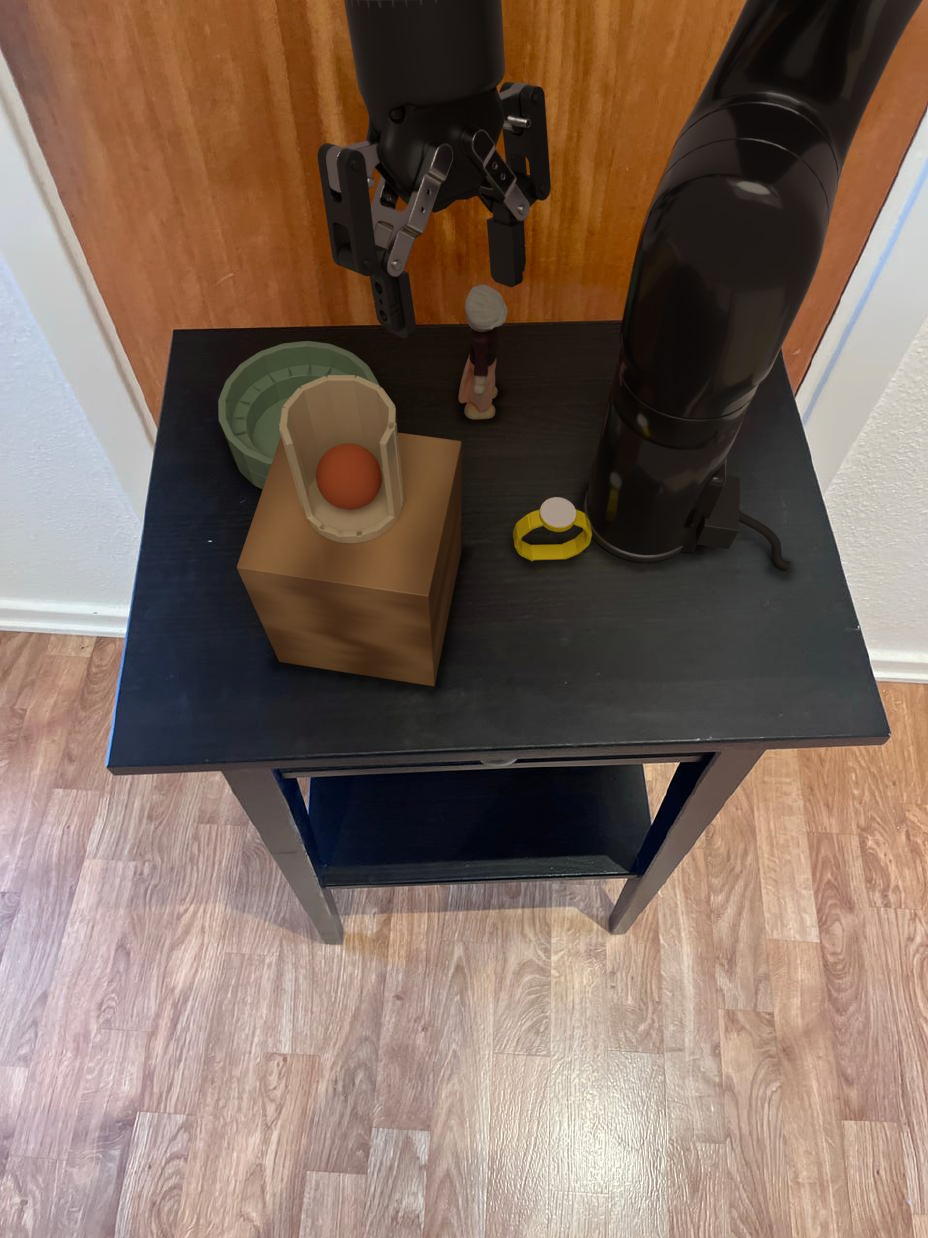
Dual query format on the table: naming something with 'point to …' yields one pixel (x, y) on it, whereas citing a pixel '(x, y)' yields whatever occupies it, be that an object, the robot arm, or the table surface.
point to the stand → (360, 573)
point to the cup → (336, 418)
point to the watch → (558, 519)
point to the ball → (348, 476)
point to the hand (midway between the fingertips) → (456, 306)
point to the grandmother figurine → (482, 351)
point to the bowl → (274, 397)
